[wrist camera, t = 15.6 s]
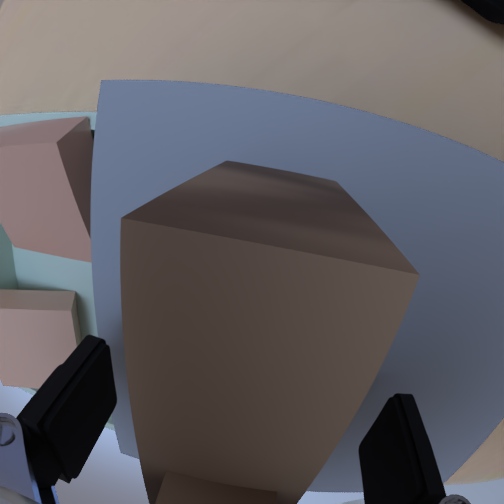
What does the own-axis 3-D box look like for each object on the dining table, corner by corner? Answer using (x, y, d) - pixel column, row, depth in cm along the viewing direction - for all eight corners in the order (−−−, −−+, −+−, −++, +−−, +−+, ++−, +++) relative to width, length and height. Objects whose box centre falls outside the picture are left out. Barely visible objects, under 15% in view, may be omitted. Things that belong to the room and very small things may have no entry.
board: (540, 192, 12) (601, 218, 7) (425, 432, 19) (441, 485, 14) (160, 93, 13) (101, 80, 8) (147, 396, 19) (120, 452, 15)
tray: (156, 114, 13) (126, 112, 10) (148, 405, 20) (133, 437, 17) (8, 115, 13) (-28, 118, 11) (35, 362, 20) (15, 385, 17)
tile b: (-25, 306, 12) (-14, 288, 14) (3, 385, 14) (8, 365, 16) (71, 310, 15) (75, 290, 16) (86, 390, 17) (87, 368, 18)
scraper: (335, 181, 8) (523, 426, 1) (252, 469, 14) (231, 608, 6) (226, 160, 9) (-31, 324, 1) (193, 458, 14) (155, 592, 6)
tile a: (87, 116, 10) (56, 142, 9) (119, 233, 14) (101, 264, 13) (-5, 127, 11) (-33, 150, 9) (33, 221, 15) (14, 247, 14)
